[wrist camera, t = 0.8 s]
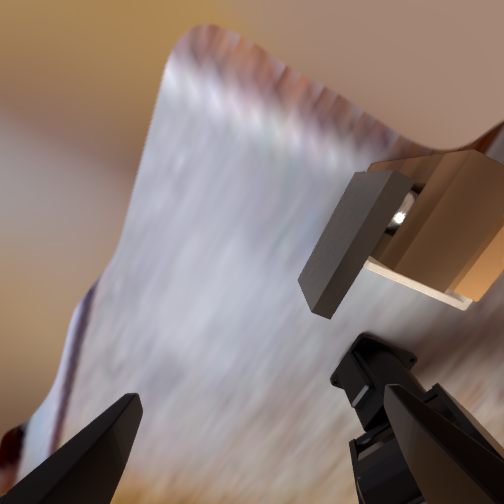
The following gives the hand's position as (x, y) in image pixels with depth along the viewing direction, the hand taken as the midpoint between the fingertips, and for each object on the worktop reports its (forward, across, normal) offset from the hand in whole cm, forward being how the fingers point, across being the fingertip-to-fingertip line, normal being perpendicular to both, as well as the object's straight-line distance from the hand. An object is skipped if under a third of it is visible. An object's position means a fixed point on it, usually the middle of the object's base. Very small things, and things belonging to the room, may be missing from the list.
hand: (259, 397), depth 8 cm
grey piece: (+10, -9, -2) cm, 13 cm away
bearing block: (+13, -9, -5) cm, 17 cm away
